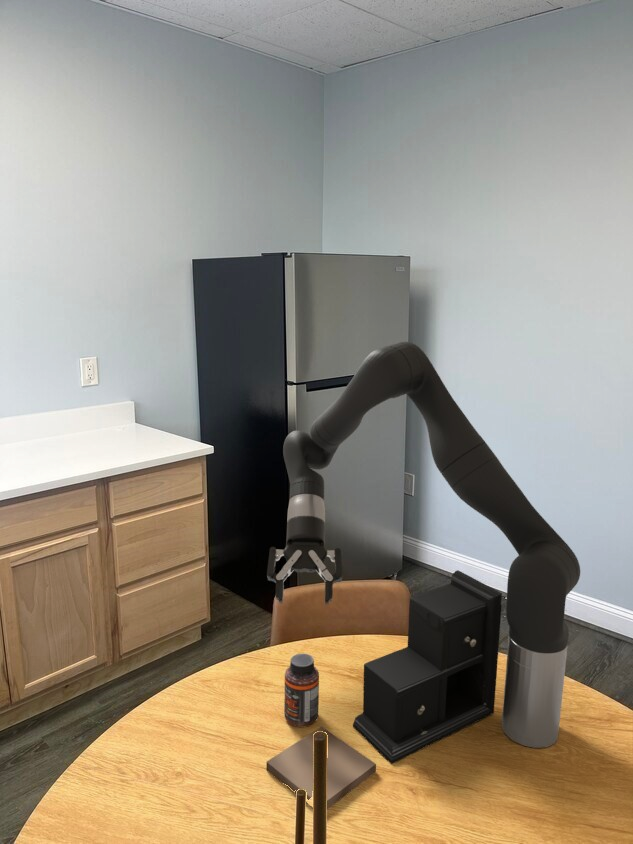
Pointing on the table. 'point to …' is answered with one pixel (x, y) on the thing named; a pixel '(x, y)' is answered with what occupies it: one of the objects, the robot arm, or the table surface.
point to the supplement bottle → (301, 691)
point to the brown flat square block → (341, 767)
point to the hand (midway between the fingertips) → (303, 602)
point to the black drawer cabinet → (434, 670)
